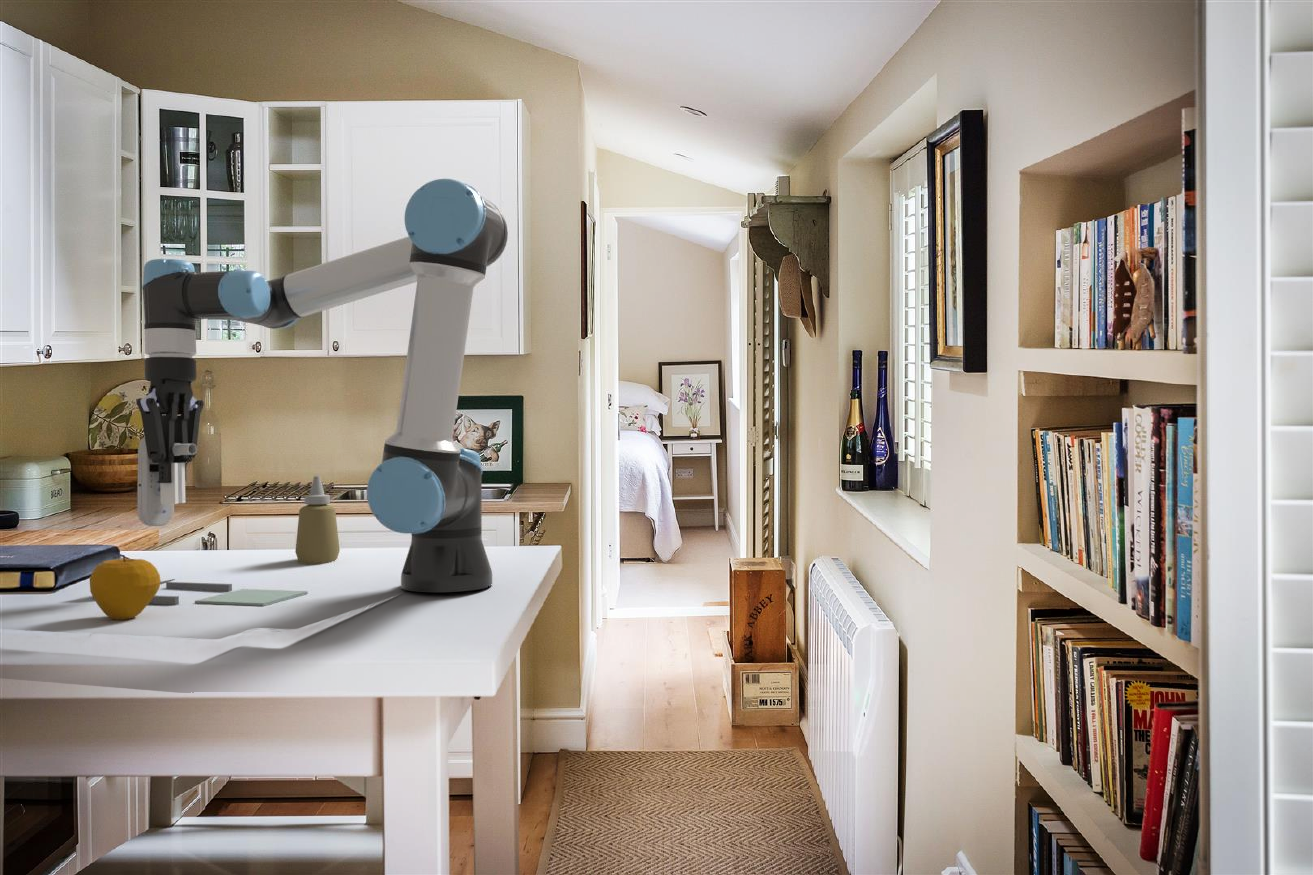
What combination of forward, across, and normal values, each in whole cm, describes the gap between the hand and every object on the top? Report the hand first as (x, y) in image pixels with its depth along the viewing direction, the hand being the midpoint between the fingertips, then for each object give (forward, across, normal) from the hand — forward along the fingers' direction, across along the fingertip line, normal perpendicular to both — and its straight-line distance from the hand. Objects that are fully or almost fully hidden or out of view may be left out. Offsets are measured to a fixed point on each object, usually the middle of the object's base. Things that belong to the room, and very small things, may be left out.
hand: (173, 503), depth 163 cm
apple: (+15, +18, +6) cm, 24 cm away
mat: (+15, -1, +14) cm, 20 cm away
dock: (+15, 0, 0) cm, 15 cm away
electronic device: (+4, +1, 0) cm, 4 cm away
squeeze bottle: (+15, -33, +6) cm, 37 cm away
